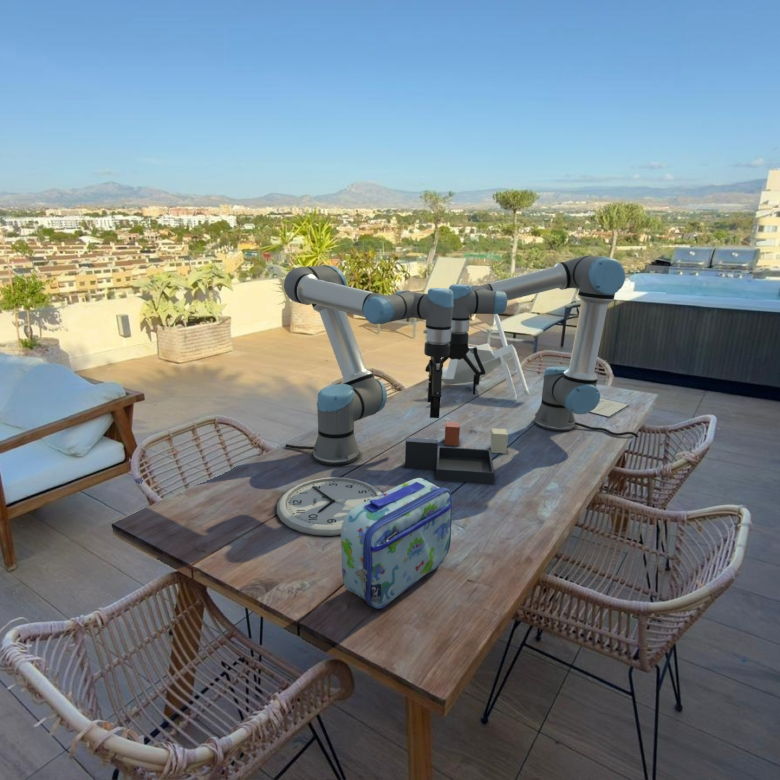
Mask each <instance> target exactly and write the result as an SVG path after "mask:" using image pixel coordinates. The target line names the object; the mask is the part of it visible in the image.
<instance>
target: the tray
mask: <svg viewBox="0 0 780 780" xmlns="http://www.w3.org/2000/svg"><path fill="white" fill-rule="evenodd" d="M404 453H405V454H404V468H408V469H421V470H422V469H423V470H435V481H447V482H458V483H459V482H460V483H476V484H489V485H494V481H495V470H494V469H495V468H494V465H493V463H494V462H493V457H492V453H491V449H484V448H468V447H467V448H466V447H451V446H439V439H433V438H418V437H417V438H416V437H406V439H405V451H404Z"/></svg>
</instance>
